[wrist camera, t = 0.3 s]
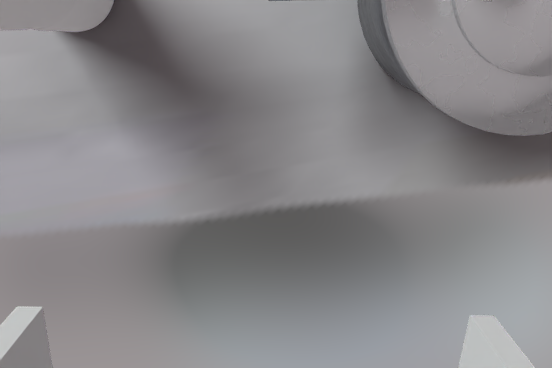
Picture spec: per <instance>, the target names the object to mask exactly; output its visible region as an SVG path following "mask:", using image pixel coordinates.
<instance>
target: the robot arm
mask: <svg viewBox="0 0 552 368" xmlns="http://www.w3.org/2000/svg"><path fill="white" fill-rule="evenodd" d="M0 368H53V366H52V360H51V354H50V348H49V342H48V336H47V330H46V323H45V318H44V311H43V307H18V306H17V307H16V308H15V309H14V311H13V312H12V313H11V314H10V315H9V316H8V317H7V318H6V319H5V321H4V322H3V323H2V324H1V325H0ZM458 368H535V367H534V366H533V364H532V363H531V362H530V361H529V359H528V358H527V357H526V355H525V354H524V353H523V352H522V350H521V349H520V348H519V347H518V345H517V344H516V343H515V342H514V340H513V339H512V338H511V337H510V335H509V334H508V333H507V332H506V330H505V329H504V328H503V327H502V325H501V324H500V323H499V321H498V320H497V319H496V318H495V316H492V315H470V316H469V321H468V325H467V331H466V335H465V339H464V344H463V349H462V353H461V358H460V362H459V367H458Z"/></svg>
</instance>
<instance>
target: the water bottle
mask: <svg viewBox="0 0 552 368" xmlns="http://www.w3.org/2000/svg"><path fill="white" fill-rule="evenodd" d="M113 3H114V0H0V30H28V29H32V30H38V31H64V32H81V31H86V30H89V29H92V28H94V27H96V26H97V25H99V24H100V23H101V22H102V21H103V20H104V19H105V18H106V17H107V16H108V14H109V12H110V11H111V8H112V6H113Z"/></svg>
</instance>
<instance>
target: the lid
mask: <svg viewBox="0 0 552 368" xmlns="http://www.w3.org/2000/svg"><path fill="white" fill-rule="evenodd" d="M268 1H290V0H268ZM381 5H382V13H383V20H384V24H385V28H386V32H387V35H388V39H389V42H390V45H391V47H392V49H393V52H394V54H395V57H396V59H397V61H398V63H399V65H400V66H401V68H402V70H403V71H404V73H405V75H406V77H407V78H408V79H409V80H410V82H411V83H412V84H413V85H414V87H415V88H416V89H417V91H418V92H419V93H420V94H421V95H422V96H424V97H425V98H426V99H427V100H428V101H429V102H430V103H431V104H432V105H433V106H435V107H436V108H438V109H439V110H441V111H442V112H443V113H445V114H446V115H448V116H450V117H452V118H454V119H456V120H458V121H460V122H462V123H464V124H467V125H469V126H472V127H475V128H478V129H481V130H484V131H487V132H492V133H498V134H503V135H519V136H528V135H539V134H547V133H552V0H381Z"/></svg>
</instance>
